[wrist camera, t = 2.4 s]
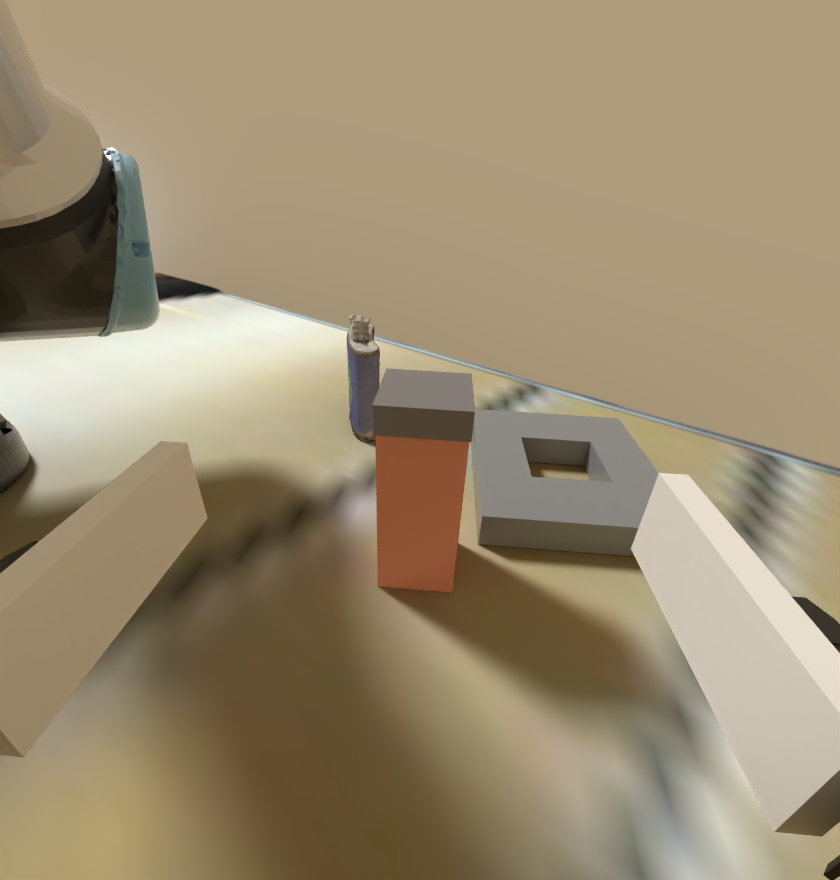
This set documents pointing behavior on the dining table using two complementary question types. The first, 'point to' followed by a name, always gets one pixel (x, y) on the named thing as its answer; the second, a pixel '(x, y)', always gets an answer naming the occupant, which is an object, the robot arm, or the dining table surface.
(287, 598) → the dining table surface
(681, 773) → the dining table surface
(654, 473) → the socket plate
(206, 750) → the dining table surface
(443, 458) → the plug
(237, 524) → the dining table surface
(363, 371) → the flask
